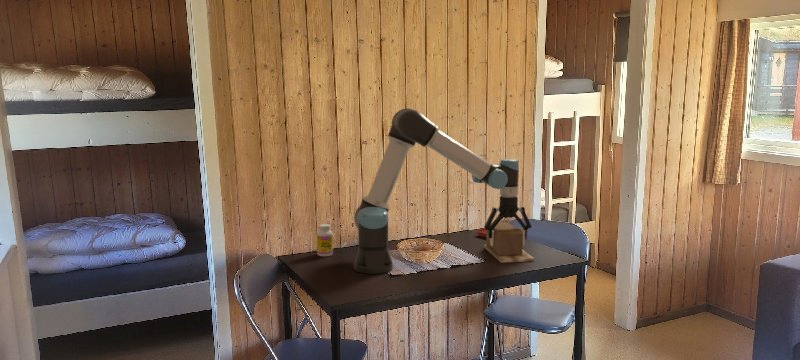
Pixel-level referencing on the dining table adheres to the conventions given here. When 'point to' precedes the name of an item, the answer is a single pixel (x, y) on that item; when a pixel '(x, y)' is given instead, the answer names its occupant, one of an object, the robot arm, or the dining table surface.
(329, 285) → the dining table surface
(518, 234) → the block
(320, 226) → the supplement bottle
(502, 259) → the board
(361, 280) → the dining table surface
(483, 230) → the plant saucer
